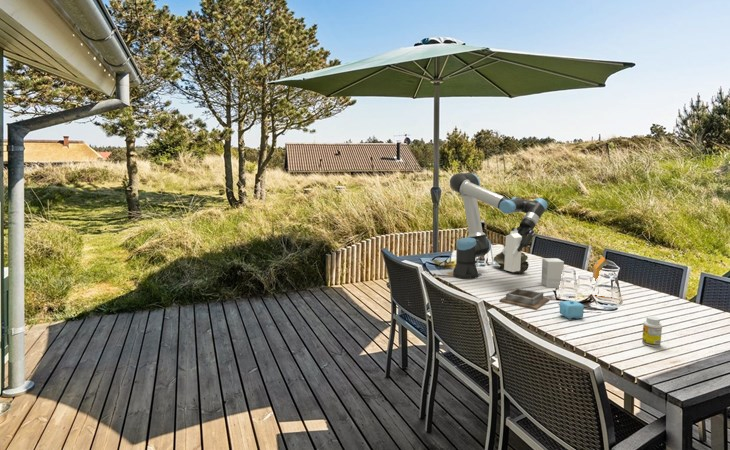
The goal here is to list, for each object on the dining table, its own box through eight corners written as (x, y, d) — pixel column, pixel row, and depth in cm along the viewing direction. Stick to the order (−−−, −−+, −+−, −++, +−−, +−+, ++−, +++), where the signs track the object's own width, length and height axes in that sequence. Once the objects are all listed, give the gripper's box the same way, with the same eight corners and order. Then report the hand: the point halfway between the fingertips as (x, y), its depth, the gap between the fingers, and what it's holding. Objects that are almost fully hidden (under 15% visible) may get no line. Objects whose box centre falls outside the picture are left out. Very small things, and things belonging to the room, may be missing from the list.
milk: (520, 270, 215) (522, 231, 212) (512, 272, 213) (515, 231, 209) (511, 268, 221) (513, 229, 217) (503, 269, 218) (506, 230, 214)
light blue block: (560, 320, 172) (561, 303, 171) (552, 315, 178) (553, 299, 177) (586, 319, 173) (587, 302, 172) (577, 314, 179) (578, 298, 178)
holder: (499, 301, 197) (499, 294, 196) (513, 293, 210) (514, 286, 210) (536, 309, 185) (536, 301, 184) (549, 300, 198) (549, 292, 197)
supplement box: (557, 283, 228) (558, 258, 226) (563, 287, 220) (564, 261, 218) (540, 283, 229) (542, 257, 227) (546, 287, 221) (547, 261, 219)
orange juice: (594, 296, 204) (596, 258, 202) (591, 291, 213) (594, 255, 210) (611, 297, 201) (614, 259, 199) (608, 293, 210) (611, 256, 207)
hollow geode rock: (525, 283, 246) (541, 265, 246) (512, 270, 243) (529, 252, 243) (501, 271, 273) (516, 255, 274) (490, 259, 270) (504, 243, 270)
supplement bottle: (642, 339, 151) (644, 314, 150) (660, 343, 148) (663, 317, 146) (641, 344, 147) (643, 318, 146) (659, 348, 143) (662, 321, 142)
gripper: (547, 228, 213) (526, 261, 207) (517, 224, 229) (497, 255, 223) (542, 219, 210) (521, 253, 204) (511, 215, 226) (491, 246, 220)
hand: (508, 254), depth 213 cm, fingers closed on milk, 6 cm apart
